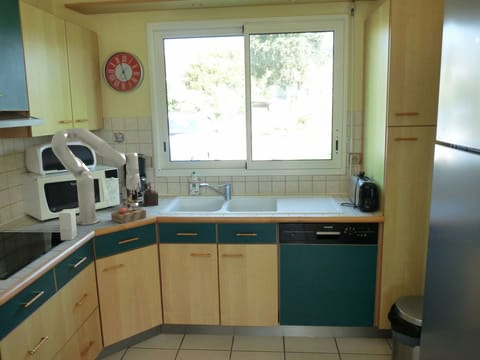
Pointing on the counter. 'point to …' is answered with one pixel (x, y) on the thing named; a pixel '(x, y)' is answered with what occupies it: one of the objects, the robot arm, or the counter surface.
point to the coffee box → (127, 198)
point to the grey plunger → (134, 206)
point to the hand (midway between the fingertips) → (135, 199)
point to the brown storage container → (149, 196)
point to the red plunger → (122, 210)
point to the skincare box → (68, 224)
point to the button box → (128, 215)
